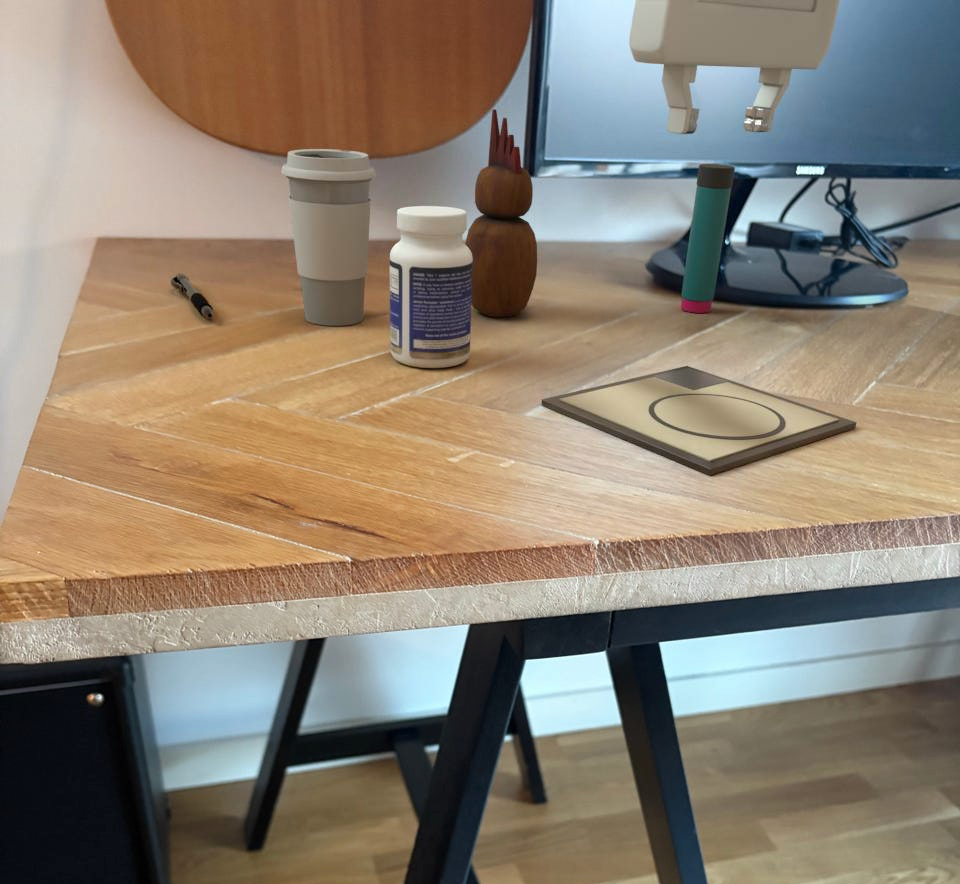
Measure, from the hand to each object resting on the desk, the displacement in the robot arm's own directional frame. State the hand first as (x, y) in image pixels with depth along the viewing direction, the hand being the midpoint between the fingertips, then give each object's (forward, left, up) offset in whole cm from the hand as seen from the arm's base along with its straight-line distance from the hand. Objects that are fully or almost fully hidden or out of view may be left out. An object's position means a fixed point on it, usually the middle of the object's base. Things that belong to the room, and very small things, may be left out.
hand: (719, 132), depth 80 cm
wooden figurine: (+16, -8, -14) cm, 23 cm away
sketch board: (+22, +19, -14) cm, 32 cm away
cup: (+29, -13, -14) cm, 35 cm away
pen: (+36, -23, -14) cm, 45 cm away
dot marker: (0, 0, -14) cm, 14 cm away
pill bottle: (+29, 0, -14) cm, 32 cm away
